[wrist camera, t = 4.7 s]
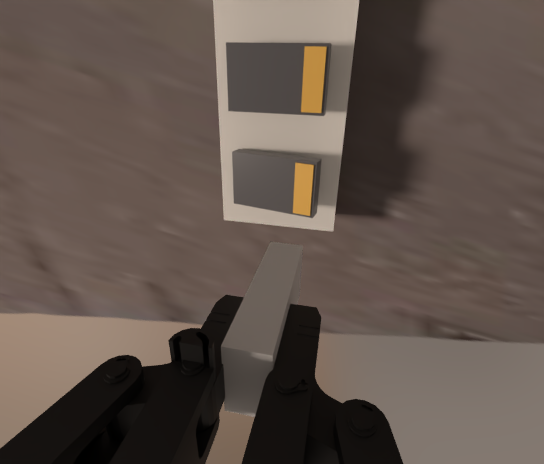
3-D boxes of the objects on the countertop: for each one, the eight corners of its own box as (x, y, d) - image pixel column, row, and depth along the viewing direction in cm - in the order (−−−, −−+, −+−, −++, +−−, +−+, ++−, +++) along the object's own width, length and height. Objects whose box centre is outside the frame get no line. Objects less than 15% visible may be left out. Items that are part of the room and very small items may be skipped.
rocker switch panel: (223, -252, 21) (197, -318, 17) (390, -278, 19) (399, -356, 15) (236, 204, 34) (224, 219, 31) (334, 213, 33) (333, 231, 29)
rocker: (239, 148, 27) (231, 151, 26) (321, 158, 25) (316, 162, 24) (240, 198, 29) (233, 203, 28) (317, 212, 27) (312, 218, 26)
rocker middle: (231, 43, 24) (225, 42, 22) (331, 44, 22) (329, 42, 21) (233, 109, 25) (227, 111, 24) (325, 114, 24) (323, 116, 23)
